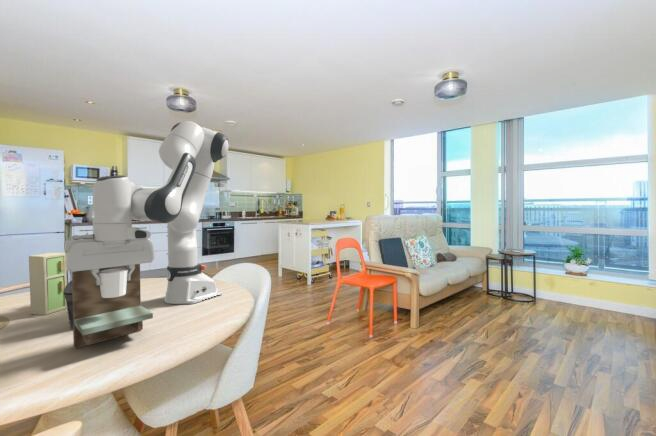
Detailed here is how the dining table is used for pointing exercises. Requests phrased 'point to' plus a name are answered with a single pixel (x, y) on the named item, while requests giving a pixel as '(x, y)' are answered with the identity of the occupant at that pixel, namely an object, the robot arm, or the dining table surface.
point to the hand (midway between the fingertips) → (113, 282)
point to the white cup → (113, 282)
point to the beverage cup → (69, 302)
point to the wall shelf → (105, 309)
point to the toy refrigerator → (47, 282)
